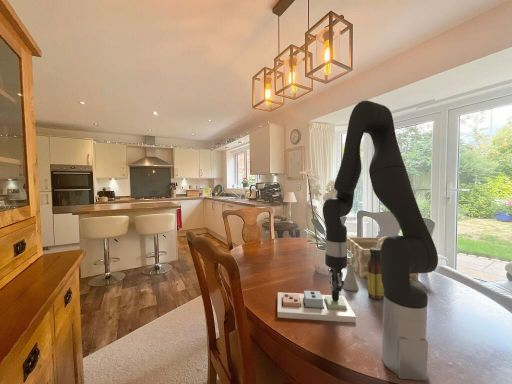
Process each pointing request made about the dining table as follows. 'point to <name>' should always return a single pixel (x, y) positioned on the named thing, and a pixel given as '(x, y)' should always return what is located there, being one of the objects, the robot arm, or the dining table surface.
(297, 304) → the tile three
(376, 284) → the sauce bottle
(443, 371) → the dining table surface
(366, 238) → the woven basket
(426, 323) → the robot arm
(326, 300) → the tile one
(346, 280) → the flask
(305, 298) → the tile two
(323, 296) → the board
